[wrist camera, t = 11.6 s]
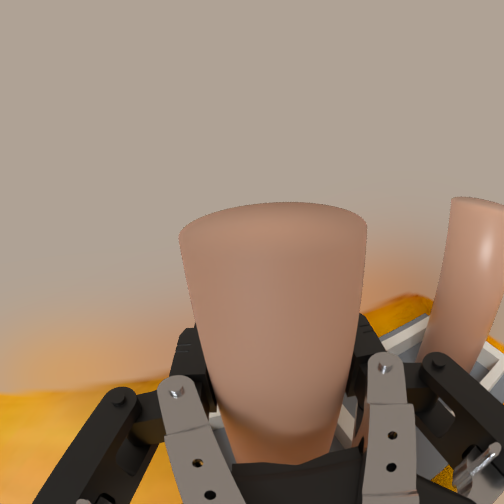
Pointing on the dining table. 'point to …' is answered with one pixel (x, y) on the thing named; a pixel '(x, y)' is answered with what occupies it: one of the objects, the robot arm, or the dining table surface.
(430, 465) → the grey peg holder
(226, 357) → the post
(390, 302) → the dining table surface
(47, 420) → the dining table surface
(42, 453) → the dining table surface
